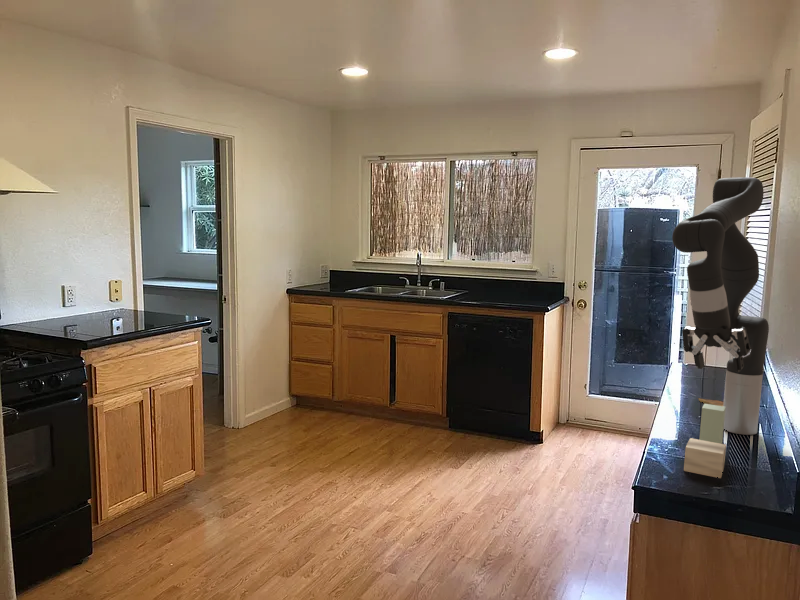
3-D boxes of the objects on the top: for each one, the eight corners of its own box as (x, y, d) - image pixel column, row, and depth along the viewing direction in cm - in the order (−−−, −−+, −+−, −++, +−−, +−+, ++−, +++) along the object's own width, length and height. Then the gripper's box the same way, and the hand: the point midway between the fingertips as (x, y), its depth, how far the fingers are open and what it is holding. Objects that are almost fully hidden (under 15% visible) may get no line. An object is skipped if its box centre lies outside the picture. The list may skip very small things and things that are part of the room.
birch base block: (688, 461, 162) (690, 438, 161) (723, 468, 157) (726, 444, 157) (683, 471, 155) (685, 446, 154) (720, 479, 151) (723, 454, 150)
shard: (697, 402, 219) (697, 397, 219) (716, 401, 221) (717, 396, 221) (720, 411, 209) (721, 405, 209) (740, 410, 211) (741, 405, 210)
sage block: (700, 447, 172) (704, 403, 170) (721, 451, 169) (725, 406, 168) (698, 453, 167) (702, 407, 166) (719, 457, 165) (723, 411, 163)
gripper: (748, 299, 146) (757, 365, 150) (686, 298, 157) (696, 360, 161) (735, 311, 141) (745, 379, 145) (671, 310, 152) (682, 373, 156)
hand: (719, 369), depth 153 cm, fingers open, 8 cm apart
